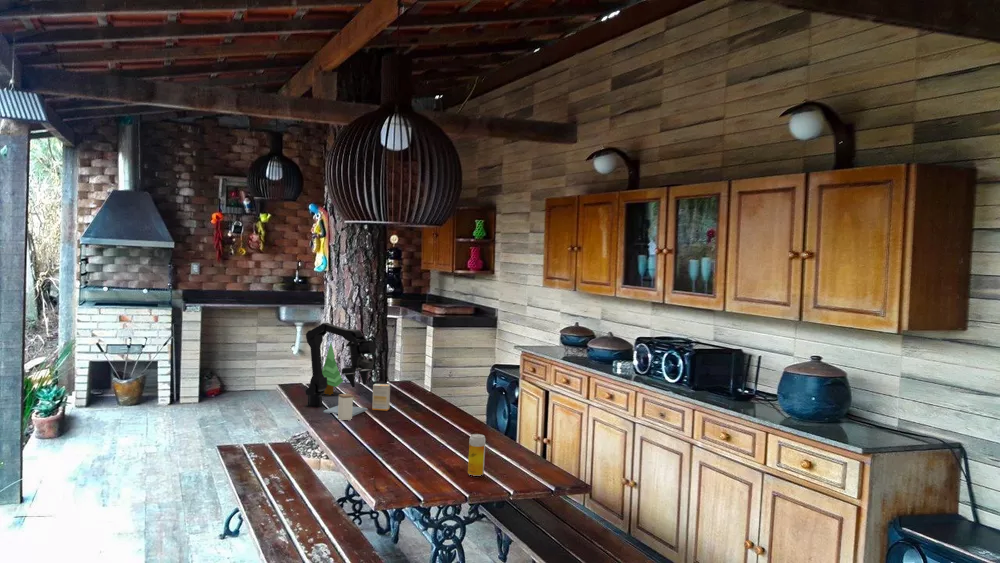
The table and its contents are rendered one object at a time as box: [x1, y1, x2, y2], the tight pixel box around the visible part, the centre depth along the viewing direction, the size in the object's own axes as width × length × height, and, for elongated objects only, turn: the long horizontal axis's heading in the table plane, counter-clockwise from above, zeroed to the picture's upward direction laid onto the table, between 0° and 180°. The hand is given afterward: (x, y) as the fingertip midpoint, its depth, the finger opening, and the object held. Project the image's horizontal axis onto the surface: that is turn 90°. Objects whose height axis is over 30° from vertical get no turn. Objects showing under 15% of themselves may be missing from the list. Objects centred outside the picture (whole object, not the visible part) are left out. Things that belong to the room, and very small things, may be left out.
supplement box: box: [371, 383, 391, 412], centre depth 375 cm, size 8×5×13 cm, turn 84°
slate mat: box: [323, 405, 369, 417], centre depth 367 cm, size 16×16×1 cm
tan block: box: [337, 393, 354, 421], centre depth 350 cm, size 5×5×12 cm
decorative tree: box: [322, 342, 344, 396], centre depth 406 cm, size 14×16×30 cm
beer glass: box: [467, 433, 487, 477], centre depth 274 cm, size 6×6×15 cm
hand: (359, 385), depth 364 cm, fingers open, 9 cm apart
